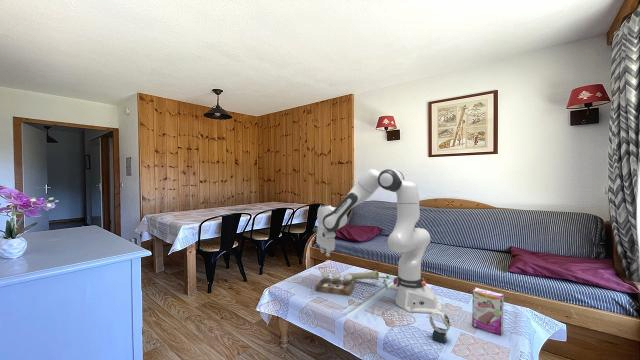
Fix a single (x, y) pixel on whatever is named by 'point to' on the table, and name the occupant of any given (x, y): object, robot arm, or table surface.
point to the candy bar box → (488, 311)
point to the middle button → (336, 275)
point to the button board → (335, 286)
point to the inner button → (347, 277)
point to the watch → (440, 333)
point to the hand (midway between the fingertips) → (325, 254)
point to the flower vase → (372, 277)
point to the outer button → (325, 274)
